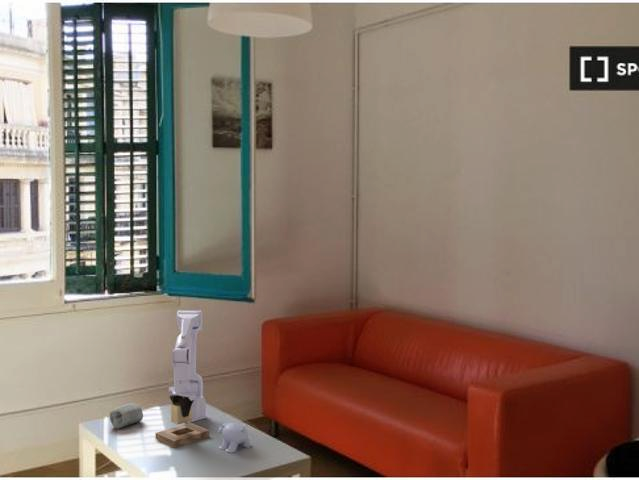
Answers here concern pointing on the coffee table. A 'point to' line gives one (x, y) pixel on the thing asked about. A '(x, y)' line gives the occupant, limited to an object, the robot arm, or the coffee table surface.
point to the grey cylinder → (126, 415)
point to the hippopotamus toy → (234, 436)
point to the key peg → (179, 414)
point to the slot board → (182, 434)
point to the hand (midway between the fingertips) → (182, 414)
